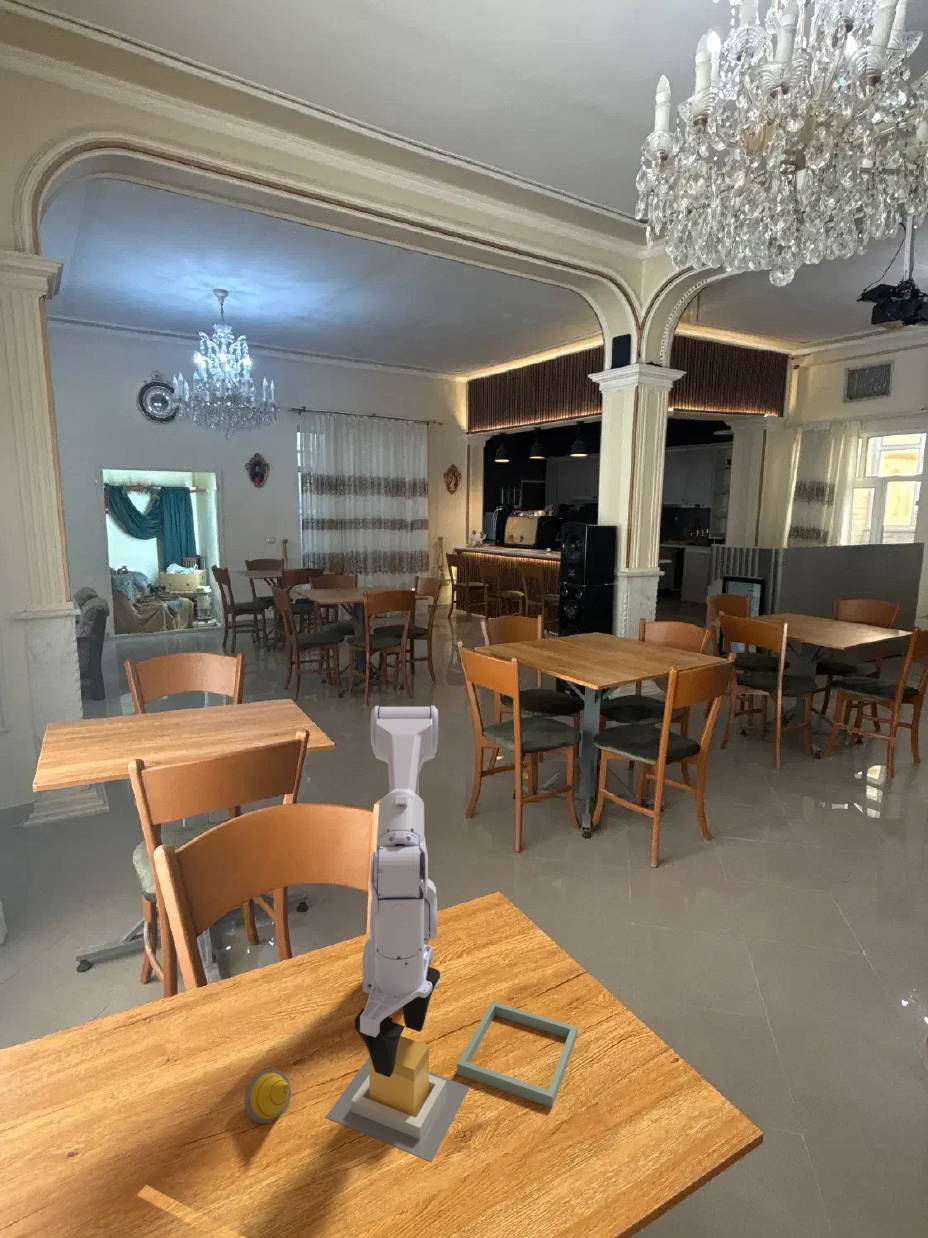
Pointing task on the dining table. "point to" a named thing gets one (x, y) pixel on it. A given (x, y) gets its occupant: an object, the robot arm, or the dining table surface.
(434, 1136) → the board
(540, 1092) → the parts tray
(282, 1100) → the yellow cone
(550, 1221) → the dining table surface
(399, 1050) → the yellow rectangular block
